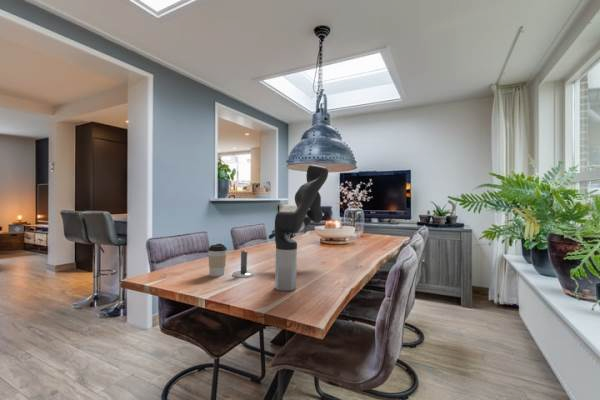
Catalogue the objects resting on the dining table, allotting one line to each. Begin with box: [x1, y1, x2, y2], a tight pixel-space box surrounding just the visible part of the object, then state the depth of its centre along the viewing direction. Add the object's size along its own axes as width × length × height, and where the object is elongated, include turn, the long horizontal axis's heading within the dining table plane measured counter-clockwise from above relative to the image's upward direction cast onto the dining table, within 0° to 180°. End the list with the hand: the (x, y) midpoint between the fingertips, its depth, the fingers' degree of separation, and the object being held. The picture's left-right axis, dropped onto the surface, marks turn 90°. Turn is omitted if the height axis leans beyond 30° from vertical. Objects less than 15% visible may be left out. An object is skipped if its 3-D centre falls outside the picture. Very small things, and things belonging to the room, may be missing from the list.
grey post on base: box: [231, 250, 256, 279], centre depth 146 cm, size 11×11×12 cm
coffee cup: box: [207, 243, 228, 278], centre depth 145 cm, size 9×9×15 cm
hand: (273, 239), depth 159 cm, fingers open, 8 cm apart
